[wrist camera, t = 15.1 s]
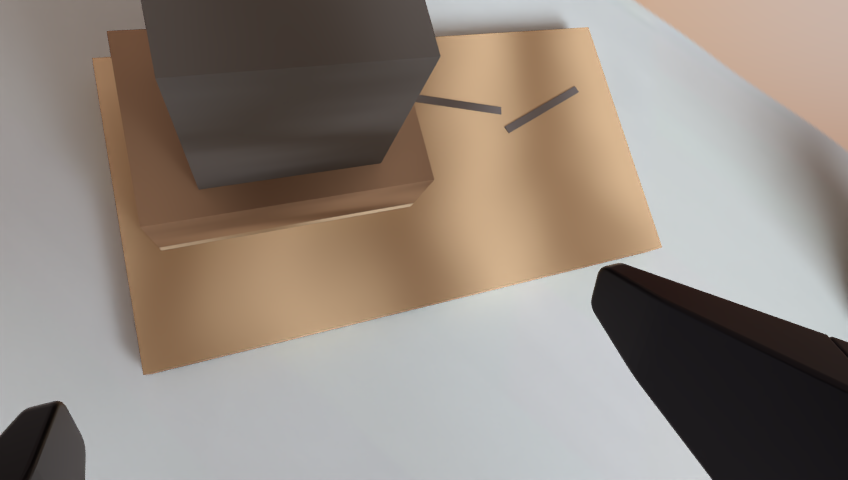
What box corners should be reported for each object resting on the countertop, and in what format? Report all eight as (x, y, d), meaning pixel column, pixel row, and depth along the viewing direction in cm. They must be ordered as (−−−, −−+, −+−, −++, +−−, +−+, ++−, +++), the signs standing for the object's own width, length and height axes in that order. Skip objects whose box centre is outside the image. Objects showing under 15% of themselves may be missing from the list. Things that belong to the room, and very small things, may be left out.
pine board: (575, 40, 23) (588, 26, 22) (645, 252, 22) (662, 247, 21) (101, 74, 17) (91, 57, 16) (151, 373, 16) (143, 374, 15)
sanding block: (374, 65, 19) (448, -147, 11) (410, 206, 18) (518, 84, 10) (132, 84, 16) (8, -174, 9) (161, 250, 15) (53, 132, 8)
